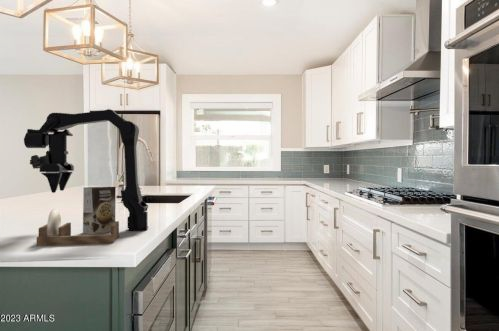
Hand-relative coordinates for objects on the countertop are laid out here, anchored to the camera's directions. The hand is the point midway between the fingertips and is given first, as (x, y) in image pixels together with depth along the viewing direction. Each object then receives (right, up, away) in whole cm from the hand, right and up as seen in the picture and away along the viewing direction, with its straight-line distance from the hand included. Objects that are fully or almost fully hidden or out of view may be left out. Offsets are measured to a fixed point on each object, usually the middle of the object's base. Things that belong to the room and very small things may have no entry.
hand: (57, 191), depth 131 cm
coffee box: (+16, -15, -2) cm, 22 cm away
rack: (+16, -14, -17) cm, 27 cm away
